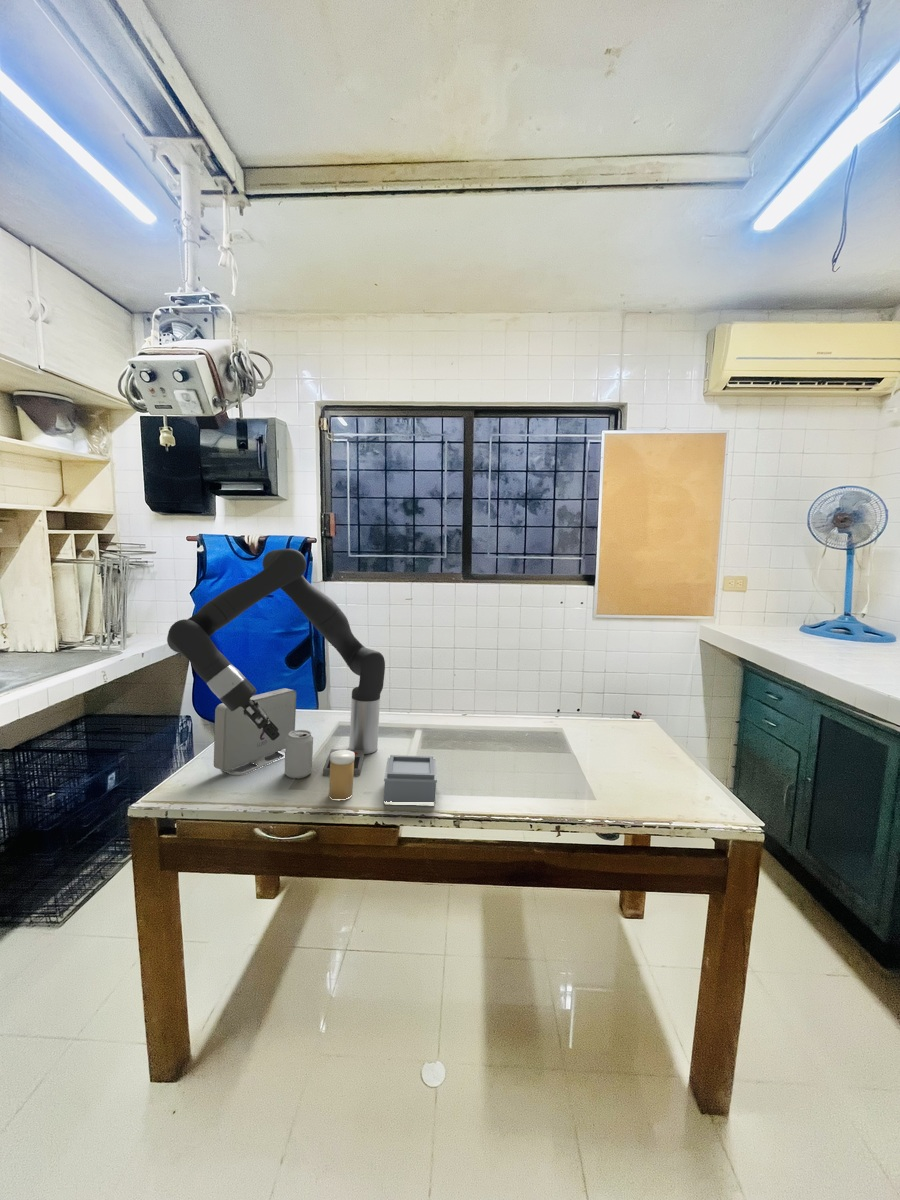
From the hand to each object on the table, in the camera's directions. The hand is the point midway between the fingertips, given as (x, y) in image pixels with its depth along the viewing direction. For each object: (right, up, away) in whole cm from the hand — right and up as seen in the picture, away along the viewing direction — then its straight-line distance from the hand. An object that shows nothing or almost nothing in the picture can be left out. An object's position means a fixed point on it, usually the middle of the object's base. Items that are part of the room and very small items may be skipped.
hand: (276, 735), depth 117 cm
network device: (-14, -15, +22) cm, 30 cm away
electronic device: (+12, -17, +24) cm, 32 cm away
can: (0, -16, +16) cm, 22 cm away
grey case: (+33, -18, +8) cm, 38 cm away
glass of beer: (+15, -17, +5) cm, 23 cm away
